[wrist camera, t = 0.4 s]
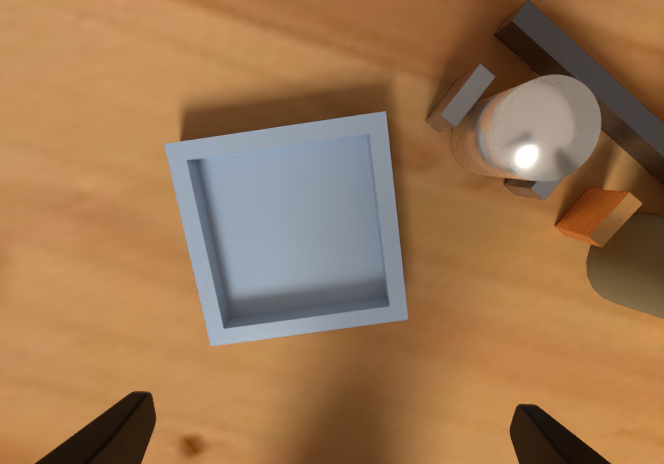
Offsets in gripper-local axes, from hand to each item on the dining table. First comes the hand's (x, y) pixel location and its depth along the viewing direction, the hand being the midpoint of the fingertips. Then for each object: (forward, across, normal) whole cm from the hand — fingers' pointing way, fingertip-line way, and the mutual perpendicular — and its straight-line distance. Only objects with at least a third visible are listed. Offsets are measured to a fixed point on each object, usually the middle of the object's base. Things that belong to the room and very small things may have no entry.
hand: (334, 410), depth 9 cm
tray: (+14, +2, +1) cm, 14 cm away
